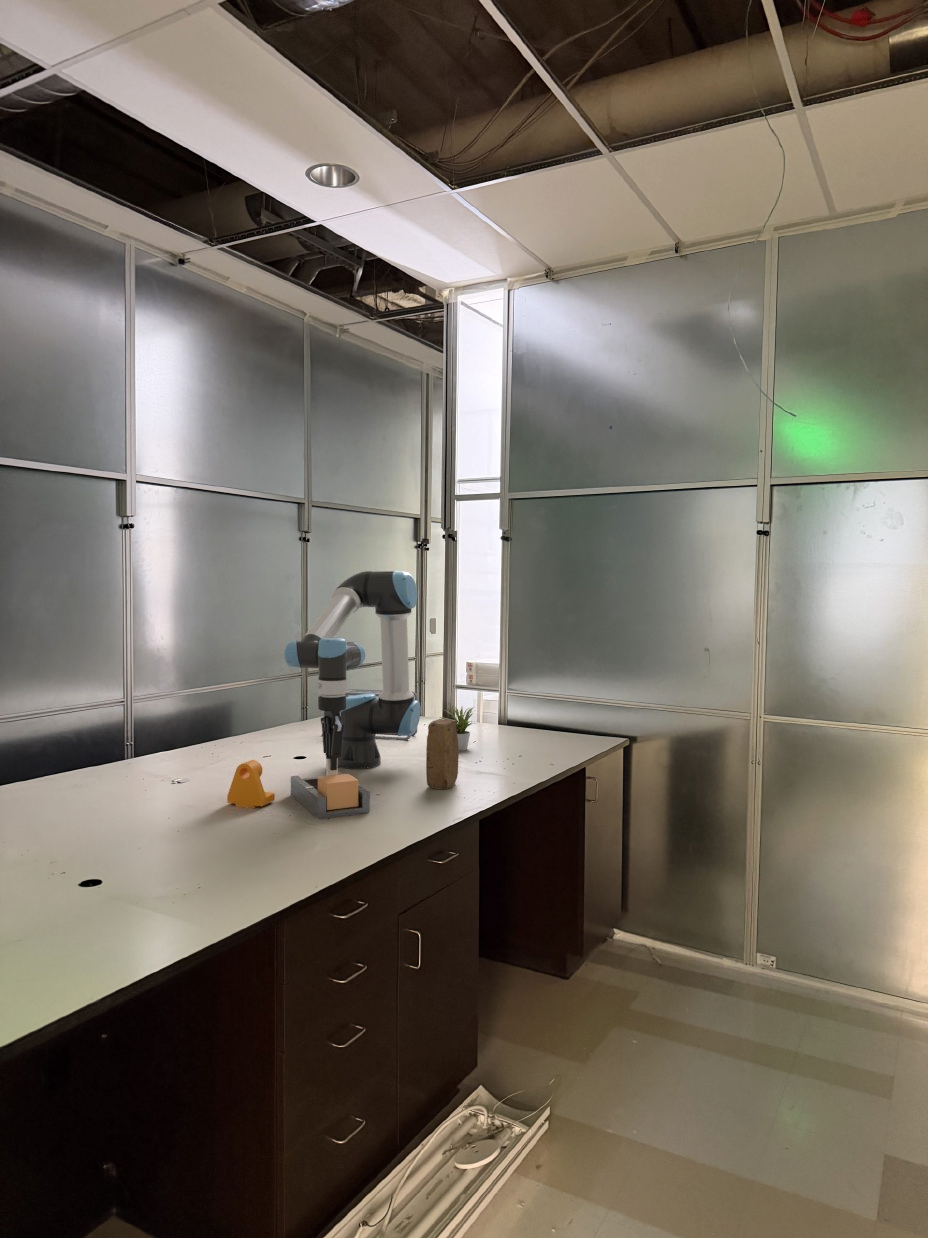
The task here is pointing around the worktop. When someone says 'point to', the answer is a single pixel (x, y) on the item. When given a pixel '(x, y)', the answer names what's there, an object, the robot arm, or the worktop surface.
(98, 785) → the worktop surface
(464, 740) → the house plant
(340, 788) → the slider block
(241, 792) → the bracket
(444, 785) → the block
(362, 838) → the worktop surface
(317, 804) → the chute
